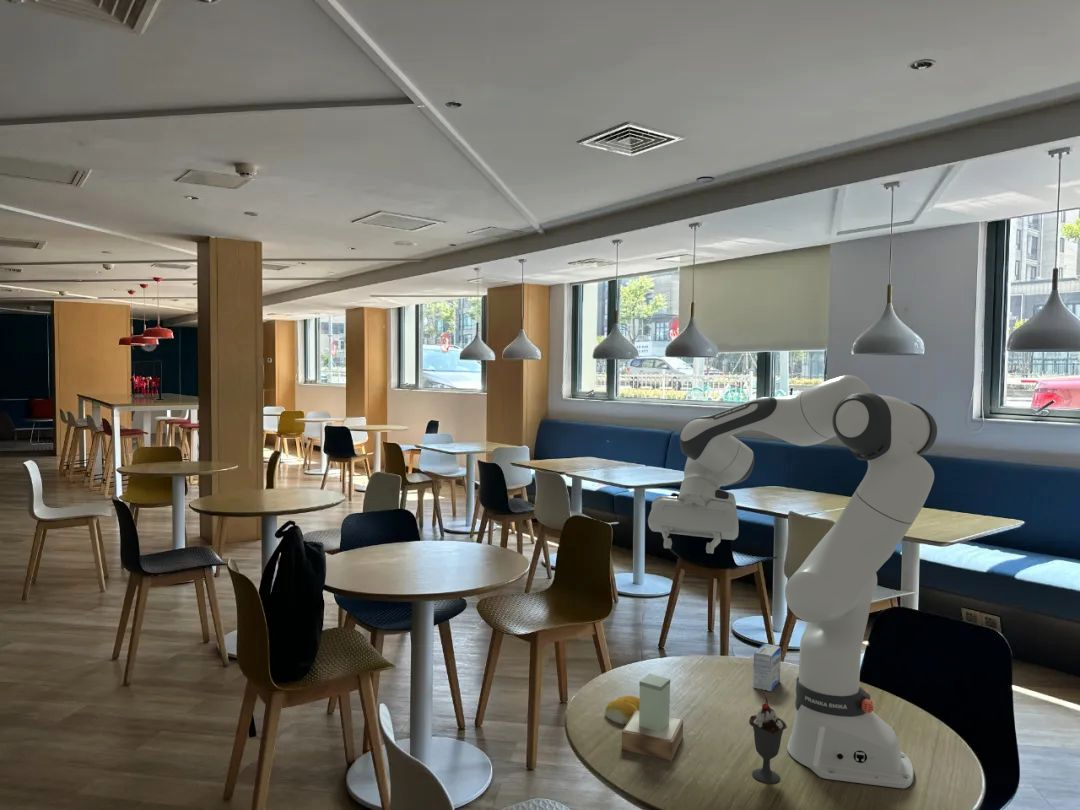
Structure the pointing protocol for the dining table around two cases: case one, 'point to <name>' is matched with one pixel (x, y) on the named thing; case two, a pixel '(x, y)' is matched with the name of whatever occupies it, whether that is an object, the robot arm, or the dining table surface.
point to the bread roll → (622, 709)
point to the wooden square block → (652, 738)
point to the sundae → (767, 741)
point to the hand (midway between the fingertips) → (687, 549)
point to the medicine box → (766, 667)
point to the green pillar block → (654, 702)
